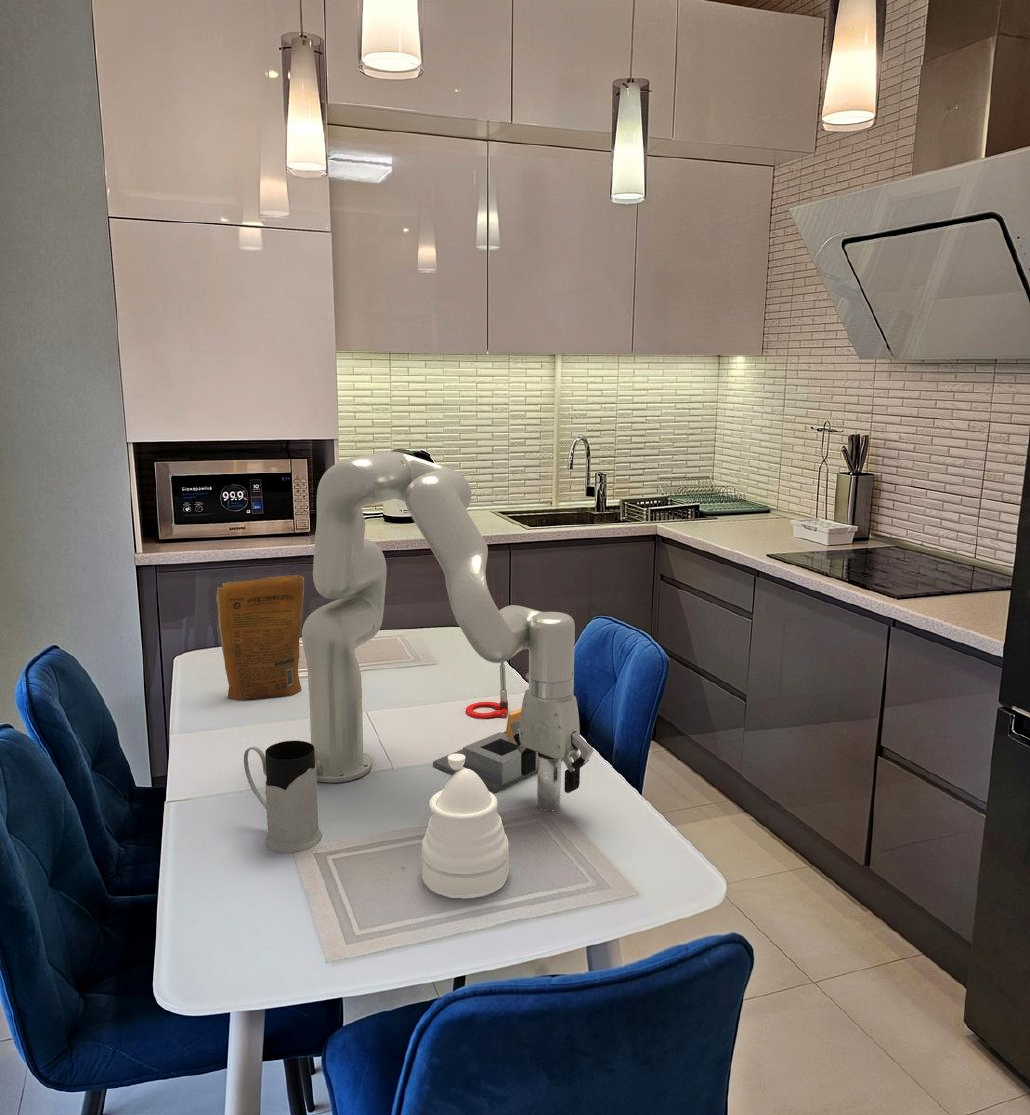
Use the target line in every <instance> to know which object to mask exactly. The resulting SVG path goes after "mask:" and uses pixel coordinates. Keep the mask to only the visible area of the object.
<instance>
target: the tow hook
mask: <svg viewBox="0 0 1030 1115" xmlns="http://www.w3.org/2000/svg"><path fill="white" fill-rule="evenodd" d="M506 678H507V677H506V665H505V662H502V663H500V665H499V681H500V682H499V683H500V691H499V695H500V696H499V699H500V700H499V702H495V701H479V702H475V703H471V704H469V705H468V706H467V707H465V714H466V716H468V717H470V718H475V719H482V720H483V719H492V718H496V717H500V718H502V719H504V718H506V717H508V716H507V715H508V712H509V711H508V710H509V699H508V690H507V680H506ZM480 708H493V709H495V710H493V711H489V712H477V711H474V710H477V709H480Z"/></svg>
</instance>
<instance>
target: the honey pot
mask: <svg viewBox="0 0 1030 1115" xmlns="http://www.w3.org/2000/svg"><path fill="white" fill-rule="evenodd" d="M450 754H451V755H450ZM450 754H448V755H449V756H448V763H449V765H450V767H451V768H452V769H454V770H459V771H457V772H456V773H455V774H454V775H451V777H450V778H449V779H448V781H447V782H446V784H445V786H444V788H443V789H441V790H439V791H437V792H435V794H433V795H432V796H431V798H430V800H429V802H428V803H429V804H428V805H429V807H428V808H429V810H430V811H431V812H432V815H431V817H430V818H429V820H428V826H427V828H426V830H425V831H426V832H425V835H424V837H423V839H422V842H421V877H422V878H421V879H423V880H424V882H425V884H426V885H428V886H429V887H430V888H431V889H432V890H435V891H437V892H442V893H446V894H451V895H470V894H479V893H482V892H488V891H490V890H493V889H495V888H496V887H497V886H499V885H500V884H502V883H503V882H504V881H505V879H507V876H508V873H509V874H510V872H509V871H510V870H509V869H510V867H509V866H510V855H509V852H510V851H509V850H510V849H509V847H510V844H509V843H510V842H509V840H508V836H507V834H506V833H505V828H504V825H503V822H502V817H501V815H499V812H498V810H497V807H498V805H499V802H498V798H497V797H496V796H495V795H494V794H495V793H493V792H491V791H488V789H487V787H486V786H485V784H484V782H483V781H482V779H481V778H480V777H479V776H478V775H477V774H476V773H475V772H474V771H472V770H470V769H466V768H464V767H463V765H464V763H465V756H464V755H463V754H452V753H450ZM508 877H509V876H508ZM423 880H422V881H423ZM424 882H423V883H424ZM425 884H424V885H425Z"/></svg>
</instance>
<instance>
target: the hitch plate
mask: <svg viewBox="0 0 1030 1115" xmlns="http://www.w3.org/2000/svg"><path fill="white" fill-rule="evenodd" d="M518 747H519V746H518V745H517V743H516V741H515V740H514V737H512V736H509V735H507V734H506V730H505V731H503V732H501V731H499V732H496V733H495V734H492V735H489V736H487V737H485V738H482V739H480V740H477V741H474V742H472V743H470V744H467V745H466V746H463V747H462V749H459V750H457V751H455V752H452V753H450V754H448V755H444V756H442V757H440V758H438V759H436V760H433V761H432V767H434V768H436V769H438V770H441V771H442V772H445V773H447V774H449V775H451V776H453V775H454V774H455V773H456V772H457V771H459V770H454V769H452V768H451V767H450V765H449V763H448V756H449V755H451V754H463V755H464V756H465V763H464V765H463V767H464V768H466V769H470V770H472V771H474V772H475V773H476V774H477V775H478V776H479V777H480V778H481V779H482V781H483V782H484V784H485V786H486V787H487V789H488V791H489V792H491V793H492V794H496V793H498V792H500V791H501V790H504V789H506V788H508V787H511V786H512V785H514V784H517V783H519V782H521V781H523V780H525V779H526V778H529V777H531V776H533V775H536V774H538V752H536V770H535V771H533V772H531V773H529V774H527V775H525V776H524V775H521V753H520V752H519V751H518ZM569 757H570V758H572V756H571V755H569ZM562 761H563V759H561V762H562Z"/></svg>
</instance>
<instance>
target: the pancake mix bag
mask: <svg viewBox="0 0 1030 1115" xmlns="http://www.w3.org/2000/svg"><path fill="white" fill-rule="evenodd" d="M221 585H222V587H217V588H216V594H215V597H216V599H215V600H216V606H217V626H218V632H219V639H220V640H219V641H220V645H221V648H222V649H221V650H222V655H223V656H222V657H223V660H224V661H223V662H224V668H225V669H224V670H225V673H226V677H227V678H226V679H227V683H228V692H227V696H226V697H227V698H228V699H230V700H234V701H238V702H239V701H243V702H244V701H253V700H261V699H270V698H278V697H290V696H294V695H296V694H298V693H300V692H301V691H302V688H303V687H302V685H301V681H300V676H299V674H300V673H299V661H300V636H301V633H302V624H303V623H302V622H303V603H304V596H305V595H304V594H305V592H304V591H305V576H302V575H299V574H293V575H292V574H291V575H289V574H288V575H279V576H270V577H262V578H257V579H256V578H255V579H250V580H237V581H229V582H228V581H227V582H222V584H221Z"/></svg>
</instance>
